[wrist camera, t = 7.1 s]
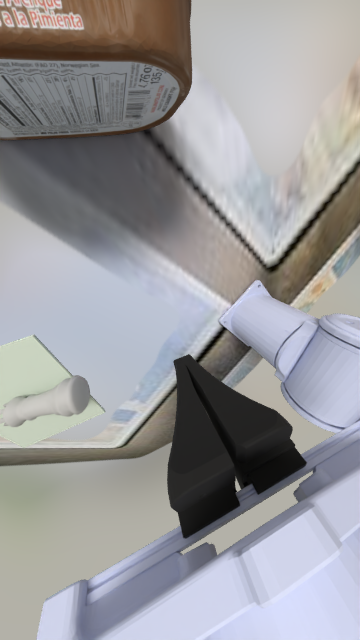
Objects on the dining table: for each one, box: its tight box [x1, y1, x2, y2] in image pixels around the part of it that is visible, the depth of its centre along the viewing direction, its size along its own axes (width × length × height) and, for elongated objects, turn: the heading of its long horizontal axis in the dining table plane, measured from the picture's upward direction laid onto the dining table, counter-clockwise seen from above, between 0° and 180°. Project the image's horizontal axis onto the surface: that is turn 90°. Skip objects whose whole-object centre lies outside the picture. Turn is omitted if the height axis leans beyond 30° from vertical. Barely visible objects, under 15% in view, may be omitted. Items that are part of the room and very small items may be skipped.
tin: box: [0, 0, 192, 140], centre depth 8 cm, size 15×3×8 cm, turn 99°
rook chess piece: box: [0, 375, 90, 427], centre depth 19 cm, size 4×4×8 cm
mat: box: [0, 335, 105, 448], centre depth 20 cm, size 12×16×1 cm
